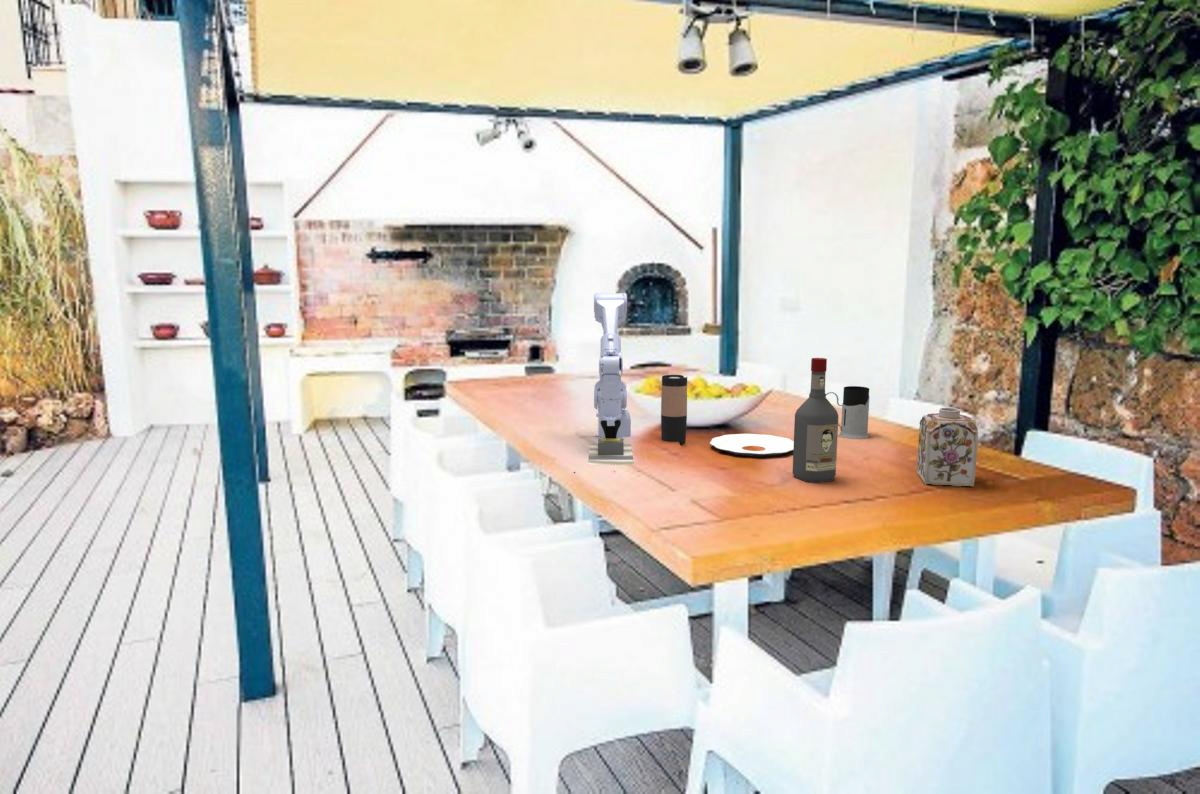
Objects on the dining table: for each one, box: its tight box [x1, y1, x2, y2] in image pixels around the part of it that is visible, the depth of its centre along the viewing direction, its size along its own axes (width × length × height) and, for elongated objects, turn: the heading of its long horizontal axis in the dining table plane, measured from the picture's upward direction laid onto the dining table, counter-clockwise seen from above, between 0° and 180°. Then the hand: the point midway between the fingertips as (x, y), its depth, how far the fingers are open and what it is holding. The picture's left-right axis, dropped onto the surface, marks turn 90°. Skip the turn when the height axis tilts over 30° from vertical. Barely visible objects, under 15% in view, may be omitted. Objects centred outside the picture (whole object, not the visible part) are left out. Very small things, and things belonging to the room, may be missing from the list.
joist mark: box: [587, 455, 634, 460], centre depth 220 cm, size 4×12×1 cm, turn 90°
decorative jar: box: [916, 407, 979, 487], centre depth 201 cm, size 12×12×18 cm
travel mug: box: [660, 374, 688, 446], centre depth 242 cm, size 8×8×20 cm
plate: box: [709, 433, 794, 457], centre depth 236 cm, size 25×25×2 cm
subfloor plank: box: [587, 443, 635, 466], centre depth 225 cm, size 24×12×1 cm, turn 0°
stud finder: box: [597, 437, 625, 455], centre depth 225 cm, size 5×7×4 cm
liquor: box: [792, 357, 840, 484], centre depth 203 cm, size 9×9×30 cm
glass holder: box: [825, 385, 870, 440], centre depth 252 cm, size 9×14×15 cm, turn 89°
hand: (610, 446), depth 229 cm, fingers closed
